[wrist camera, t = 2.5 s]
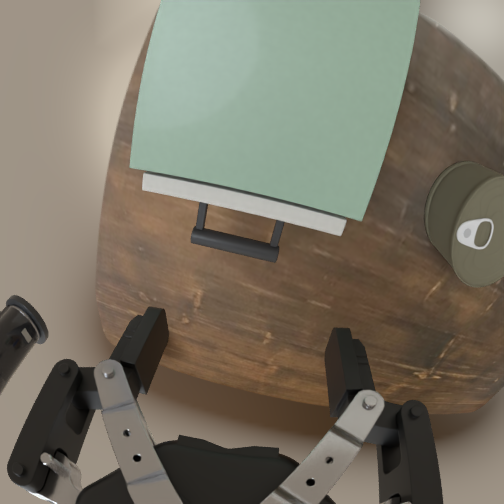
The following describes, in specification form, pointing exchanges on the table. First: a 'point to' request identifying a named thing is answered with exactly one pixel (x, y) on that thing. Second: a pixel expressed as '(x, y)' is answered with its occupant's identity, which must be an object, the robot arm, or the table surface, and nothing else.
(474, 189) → the can
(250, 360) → the table surface
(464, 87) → the table surface
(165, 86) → the mint green cabinet box
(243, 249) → the drawer
